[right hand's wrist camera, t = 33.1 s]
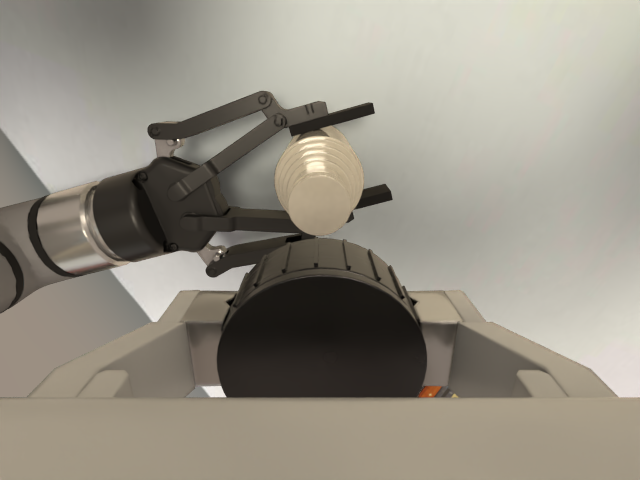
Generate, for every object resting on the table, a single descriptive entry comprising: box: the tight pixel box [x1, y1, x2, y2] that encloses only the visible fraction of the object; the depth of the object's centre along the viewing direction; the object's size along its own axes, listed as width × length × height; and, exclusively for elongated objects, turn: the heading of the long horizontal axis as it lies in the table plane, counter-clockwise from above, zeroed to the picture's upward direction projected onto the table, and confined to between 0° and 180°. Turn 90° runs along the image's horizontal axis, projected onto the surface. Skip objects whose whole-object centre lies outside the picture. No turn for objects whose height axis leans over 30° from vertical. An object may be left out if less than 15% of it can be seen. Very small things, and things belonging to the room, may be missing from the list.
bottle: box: [274, 126, 364, 236], centre depth 29 cm, size 6×6×18 cm
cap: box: [217, 237, 427, 397], centre depth 9 cm, size 5×5×2 cm
